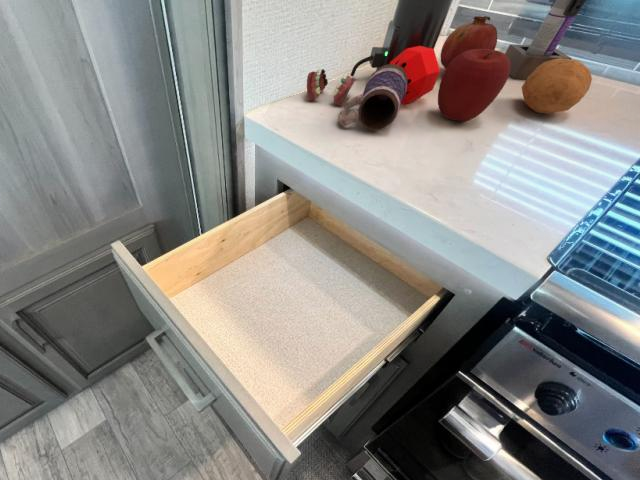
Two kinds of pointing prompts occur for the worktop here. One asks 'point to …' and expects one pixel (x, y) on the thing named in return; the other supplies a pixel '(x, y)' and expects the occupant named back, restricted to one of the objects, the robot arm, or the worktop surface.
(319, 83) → the dentures
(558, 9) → the container
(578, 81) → the potato
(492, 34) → the fruit
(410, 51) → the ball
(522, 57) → the socket
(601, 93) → the worktop surface
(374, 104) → the mug
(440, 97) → the apple
